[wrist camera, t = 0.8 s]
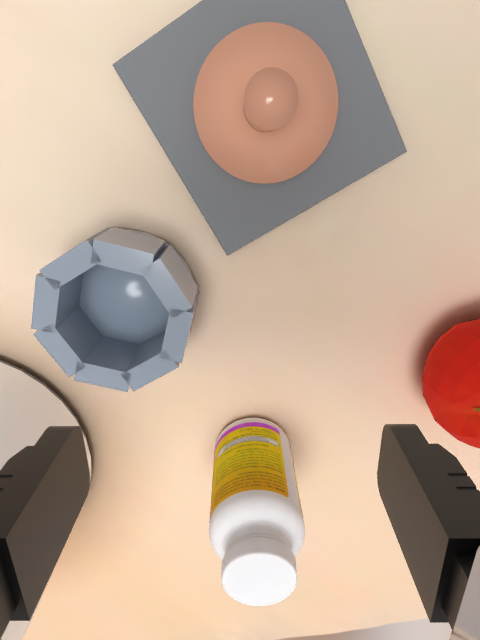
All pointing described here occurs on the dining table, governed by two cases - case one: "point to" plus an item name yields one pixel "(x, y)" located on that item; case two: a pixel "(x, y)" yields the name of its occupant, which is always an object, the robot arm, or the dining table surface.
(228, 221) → the mat
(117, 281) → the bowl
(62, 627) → the dining table surface
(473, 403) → the tomato
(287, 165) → the lid
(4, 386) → the bucket
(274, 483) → the supplement bottle
